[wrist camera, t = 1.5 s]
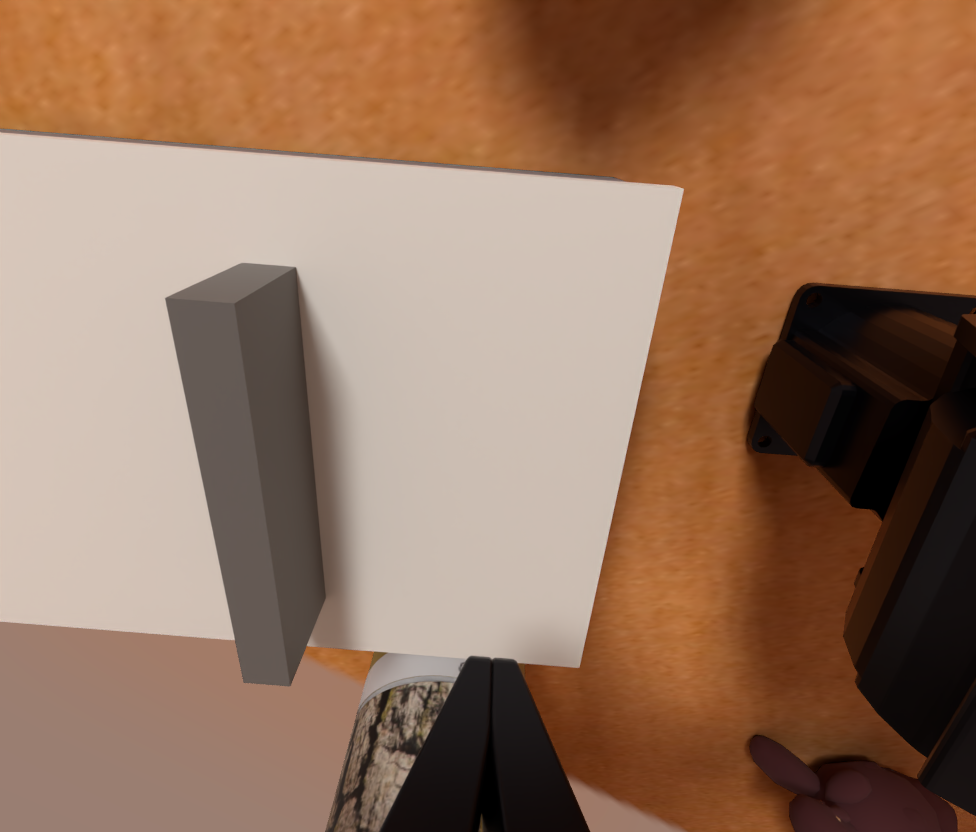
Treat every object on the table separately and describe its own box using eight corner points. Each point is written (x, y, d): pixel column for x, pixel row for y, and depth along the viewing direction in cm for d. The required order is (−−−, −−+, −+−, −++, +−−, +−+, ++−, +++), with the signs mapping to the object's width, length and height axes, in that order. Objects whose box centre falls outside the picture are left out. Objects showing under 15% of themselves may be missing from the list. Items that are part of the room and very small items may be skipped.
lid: (673, 185, 12) (739, 204, 8) (576, 647, 18) (591, 762, 15) (-268, 111, 12) (-582, 99, 8) (-26, 598, 18) (-148, 703, 15)
